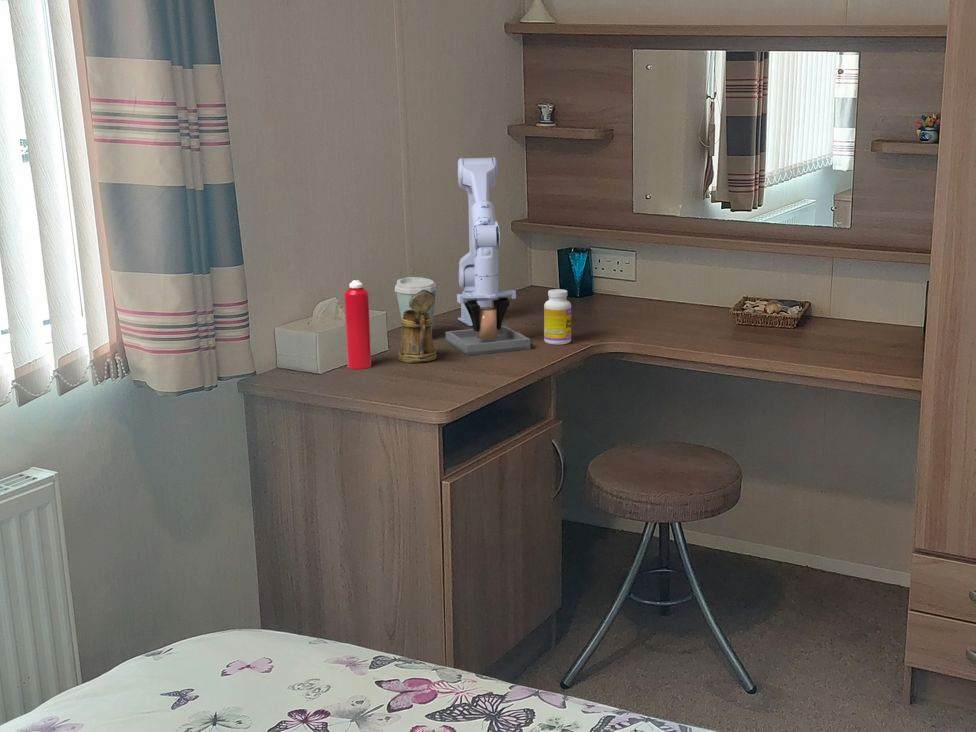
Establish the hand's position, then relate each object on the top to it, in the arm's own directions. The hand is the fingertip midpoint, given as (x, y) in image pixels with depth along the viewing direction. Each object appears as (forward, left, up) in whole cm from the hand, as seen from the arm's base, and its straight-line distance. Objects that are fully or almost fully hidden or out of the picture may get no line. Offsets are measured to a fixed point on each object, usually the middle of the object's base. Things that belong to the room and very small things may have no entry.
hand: (487, 329), depth 286 cm
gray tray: (0, 0, -4) cm, 4 cm away
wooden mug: (+8, -20, -4) cm, 22 cm away
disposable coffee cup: (-13, -14, -4) cm, 20 cm away
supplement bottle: (+4, +17, -4) cm, 18 cm away
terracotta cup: (0, 0, -2) cm, 2 cm away
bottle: (+7, -34, -4) cm, 35 cm away
